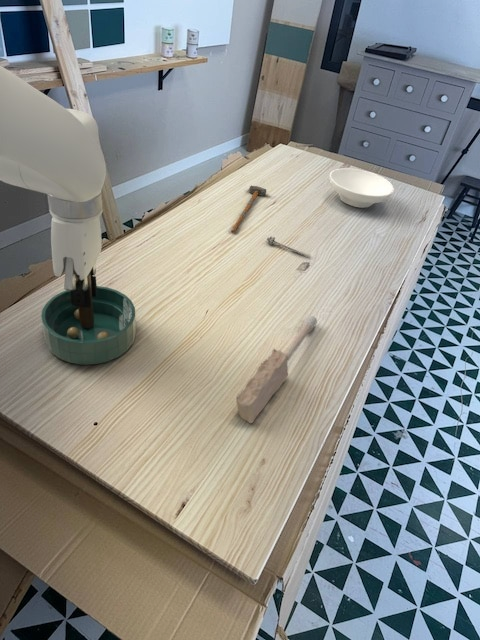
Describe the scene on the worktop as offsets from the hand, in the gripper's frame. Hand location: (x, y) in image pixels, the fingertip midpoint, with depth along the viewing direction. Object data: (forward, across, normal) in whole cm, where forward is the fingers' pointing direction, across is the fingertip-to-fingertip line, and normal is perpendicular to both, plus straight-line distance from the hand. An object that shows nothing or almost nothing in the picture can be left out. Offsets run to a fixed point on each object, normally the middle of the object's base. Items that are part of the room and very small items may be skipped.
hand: (84, 299), depth 80 cm
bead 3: (+5, +3, +4) cm, 7 cm away
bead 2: (+5, -2, -2) cm, 6 cm away
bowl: (+7, -73, +59) cm, 94 cm away
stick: (+6, 0, 0) cm, 6 cm away
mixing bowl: (+7, +2, +1) cm, 7 cm away
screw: (+7, -39, +37) cm, 54 cm away
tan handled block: (+7, +3, +35) cm, 36 cm away
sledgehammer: (+7, -56, +26) cm, 62 cm away
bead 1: (+5, +3, -1) cm, 6 cm away
